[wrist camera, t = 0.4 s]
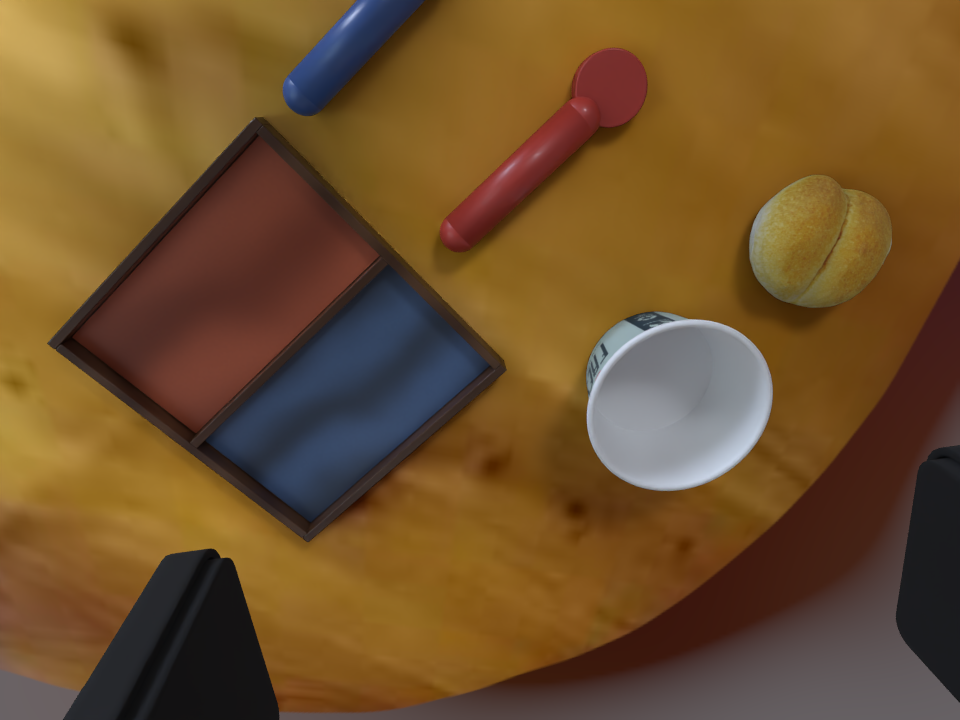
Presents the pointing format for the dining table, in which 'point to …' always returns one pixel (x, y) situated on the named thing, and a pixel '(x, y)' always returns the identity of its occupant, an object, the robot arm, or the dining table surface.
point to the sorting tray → (279, 336)
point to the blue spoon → (344, 52)
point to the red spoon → (552, 143)
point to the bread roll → (819, 242)
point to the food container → (675, 400)
